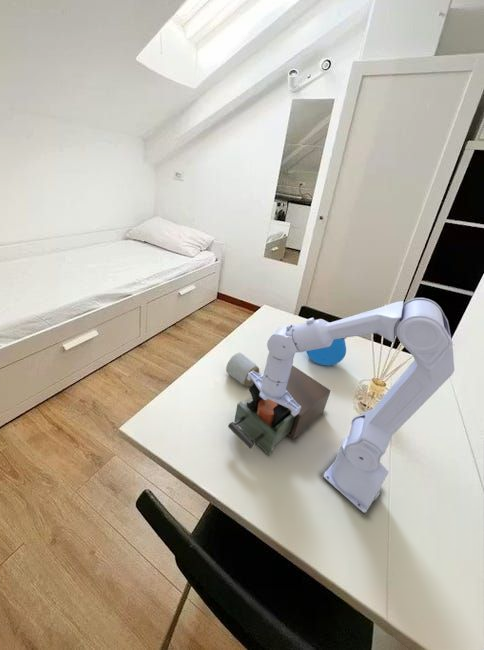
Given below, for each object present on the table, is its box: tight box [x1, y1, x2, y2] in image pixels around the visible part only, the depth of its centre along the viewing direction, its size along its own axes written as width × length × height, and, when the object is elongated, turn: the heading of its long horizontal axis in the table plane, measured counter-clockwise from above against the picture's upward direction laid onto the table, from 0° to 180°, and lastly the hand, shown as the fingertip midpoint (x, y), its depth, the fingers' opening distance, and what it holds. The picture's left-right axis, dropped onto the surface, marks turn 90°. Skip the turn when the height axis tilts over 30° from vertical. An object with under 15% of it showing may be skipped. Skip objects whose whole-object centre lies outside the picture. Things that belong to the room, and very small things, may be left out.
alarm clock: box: [305, 338, 347, 366], centre depth 102 cm, size 13×6×15 cm, turn 71°
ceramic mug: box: [225, 352, 260, 387], centre depth 92 cm, size 11×8×8 cm
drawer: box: [228, 398, 296, 456], centre depth 73 cm, size 19×12×6 cm, turn 131°
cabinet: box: [286, 364, 332, 440], centre depth 81 cm, size 15×13×8 cm
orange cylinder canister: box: [256, 399, 278, 429], centre depth 73 cm, size 5×5×5 cm
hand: (266, 417), depth 73 cm, fingers closed on orange cylinder canister, 5 cm apart
